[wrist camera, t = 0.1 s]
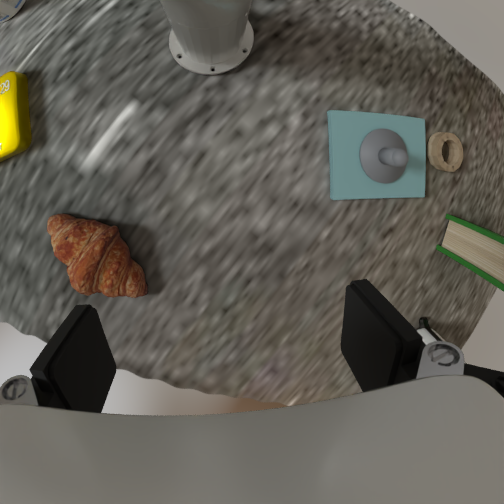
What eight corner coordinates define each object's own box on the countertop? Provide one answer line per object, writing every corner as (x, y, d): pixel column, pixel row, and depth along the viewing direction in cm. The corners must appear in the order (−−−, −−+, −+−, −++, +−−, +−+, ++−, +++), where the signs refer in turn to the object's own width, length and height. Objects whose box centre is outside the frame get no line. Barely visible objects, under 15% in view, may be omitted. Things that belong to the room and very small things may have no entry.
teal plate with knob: (327, 111, 42) (346, 105, 35) (419, 119, 43) (447, 118, 36) (330, 198, 47) (349, 208, 40) (419, 195, 48) (446, 204, 41)
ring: (426, 130, 44) (436, 131, 41) (452, 134, 45) (462, 135, 42) (426, 168, 47) (436, 170, 44) (452, 170, 47) (462, 172, 44)
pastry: (68, 294, 49) (49, 315, 41) (50, 213, 43) (25, 225, 36) (150, 291, 50) (139, 315, 42) (136, 202, 45) (120, 213, 37)
